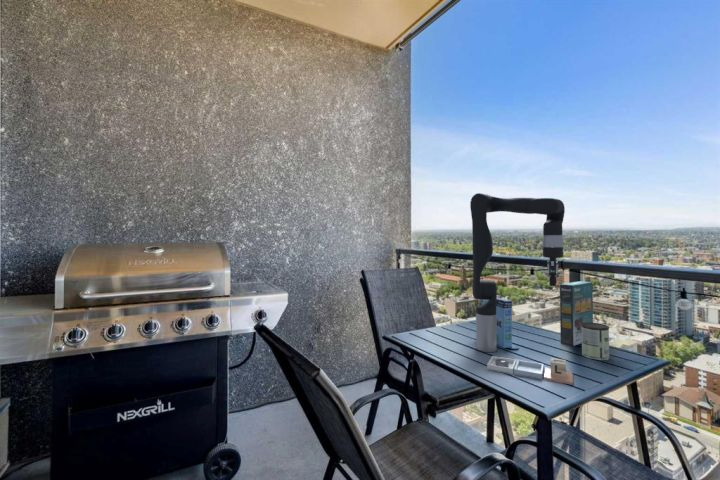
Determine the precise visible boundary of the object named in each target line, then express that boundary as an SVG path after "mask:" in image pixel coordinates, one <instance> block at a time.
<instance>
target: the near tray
mask: <svg viewBox="0 0 720 480" xmlns="http://www.w3.org/2000/svg"><path fill="white" fill-rule="evenodd" d="M496 359H504V360H507V361H509V367H502V366H496ZM517 360H518V359H517V358H516V359H515V358H508V357H501V356H497V355H492V356H491V358H489V360H488V362H487V364H486V371H491V372H496V373H502V374H508V375H514V368H515V365H516V363H517Z"/></svg>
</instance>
